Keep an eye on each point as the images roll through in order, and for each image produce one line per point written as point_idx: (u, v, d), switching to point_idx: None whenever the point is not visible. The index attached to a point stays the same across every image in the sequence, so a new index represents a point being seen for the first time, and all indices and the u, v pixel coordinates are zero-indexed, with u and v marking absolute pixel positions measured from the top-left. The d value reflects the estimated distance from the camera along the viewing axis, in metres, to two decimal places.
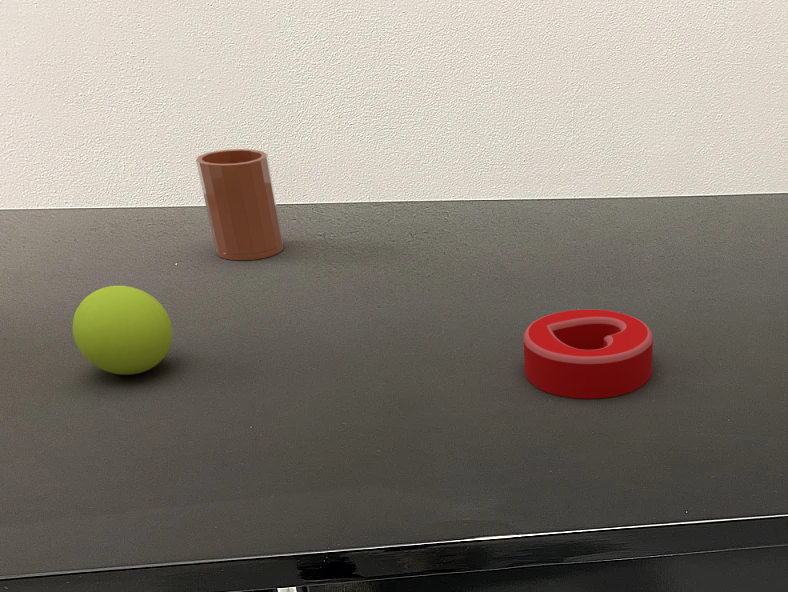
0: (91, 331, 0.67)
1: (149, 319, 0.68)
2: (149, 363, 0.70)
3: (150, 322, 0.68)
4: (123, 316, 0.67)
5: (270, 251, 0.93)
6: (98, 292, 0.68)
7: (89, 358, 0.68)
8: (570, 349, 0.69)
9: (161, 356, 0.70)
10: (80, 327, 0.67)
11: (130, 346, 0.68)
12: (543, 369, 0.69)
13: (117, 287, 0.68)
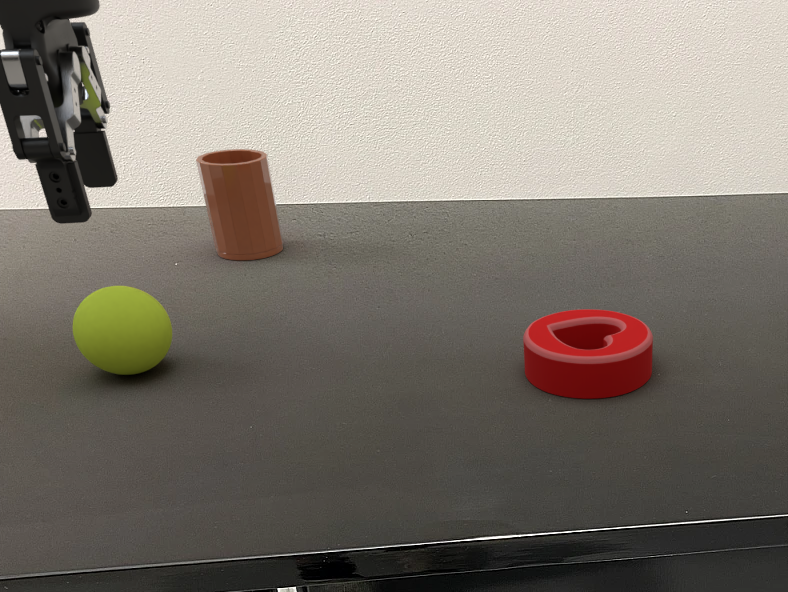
0: (91, 331, 0.67)
1: (149, 319, 0.68)
2: (149, 363, 0.70)
3: (150, 322, 0.68)
4: (123, 316, 0.67)
5: (270, 251, 0.93)
6: (98, 292, 0.68)
7: (89, 358, 0.68)
8: (570, 349, 0.69)
9: (161, 356, 0.70)
10: (80, 327, 0.67)
11: (130, 346, 0.68)
12: (543, 369, 0.69)
13: (117, 287, 0.68)
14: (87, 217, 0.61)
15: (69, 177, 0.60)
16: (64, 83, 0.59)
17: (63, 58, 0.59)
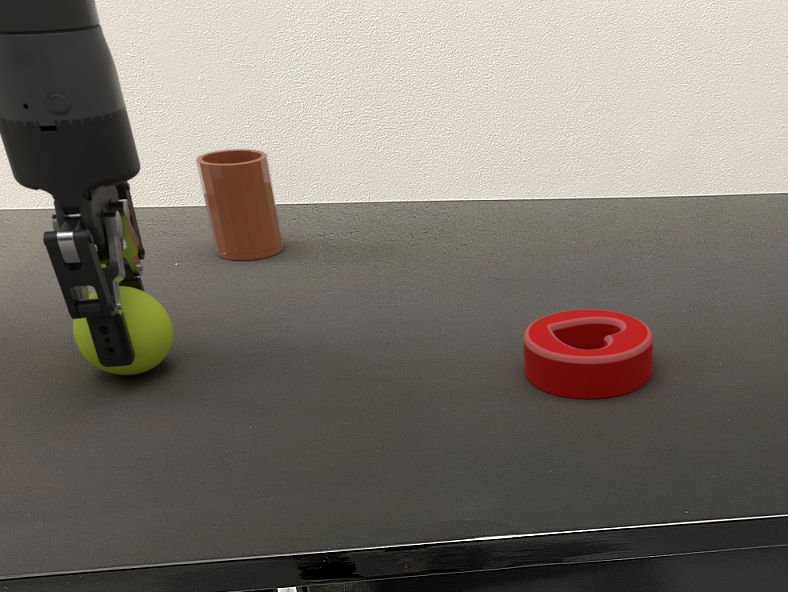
0: None
1: (149, 320, 0.68)
2: (149, 363, 0.70)
3: (150, 323, 0.68)
4: None
5: (270, 251, 0.93)
6: None
7: (89, 358, 0.68)
8: (570, 349, 0.69)
9: (161, 356, 0.70)
10: (80, 327, 0.67)
11: None
12: (543, 369, 0.69)
13: None
14: (131, 361, 0.67)
15: (116, 328, 0.66)
16: (110, 244, 0.64)
17: (107, 218, 0.64)
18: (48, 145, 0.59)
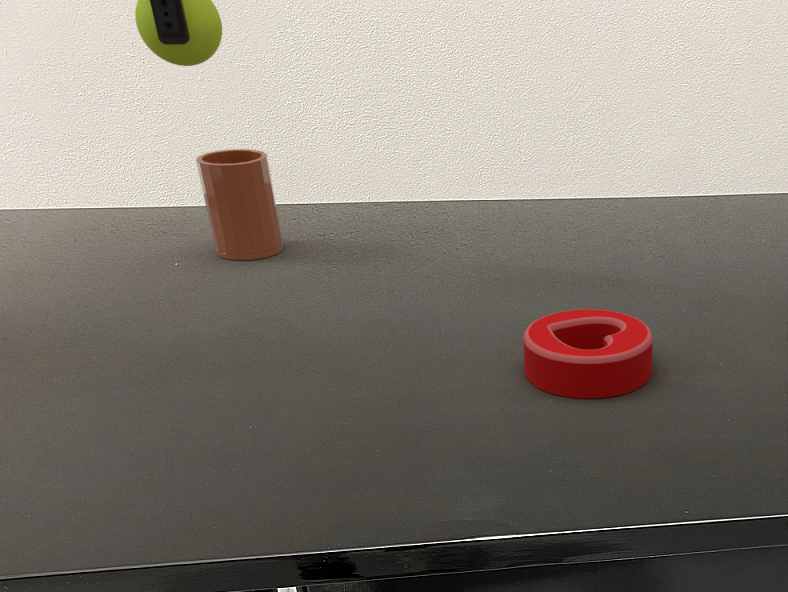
0: None
1: (203, 7, 0.77)
2: (202, 51, 0.78)
3: (203, 9, 0.77)
4: None
5: (270, 251, 0.93)
6: None
7: (150, 41, 0.77)
8: (570, 349, 0.69)
9: (212, 47, 0.79)
10: (143, 9, 0.76)
11: None
12: (543, 369, 0.69)
13: None
14: (186, 40, 0.76)
15: (174, 3, 0.74)
16: None
17: None
18: None
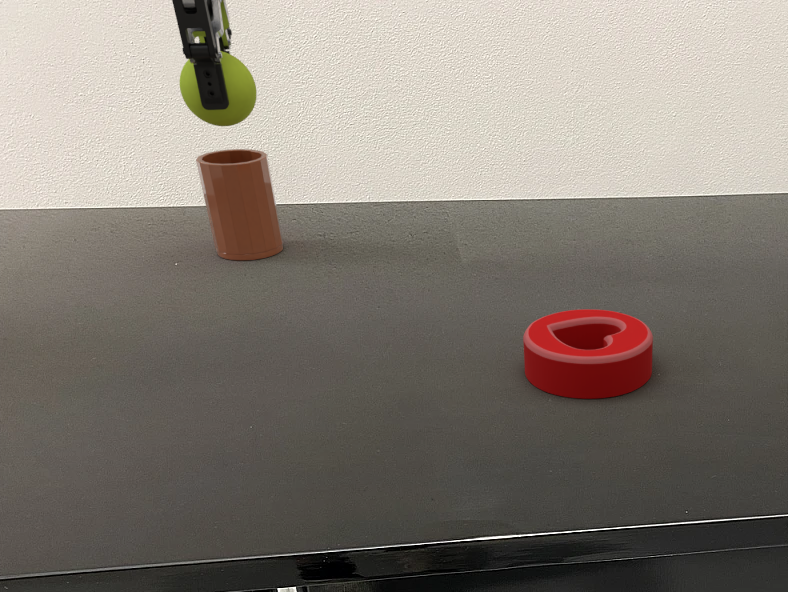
0: (196, 80, 0.84)
1: (241, 75, 0.86)
2: (239, 114, 0.87)
3: (241, 77, 0.86)
4: None
5: (270, 251, 0.93)
6: None
7: (193, 106, 0.85)
8: (570, 349, 0.69)
9: (248, 110, 0.88)
10: (187, 78, 0.84)
11: None
12: (543, 369, 0.69)
13: None
14: (226, 105, 0.85)
15: (217, 74, 0.83)
16: (213, 3, 0.82)
17: None
18: None
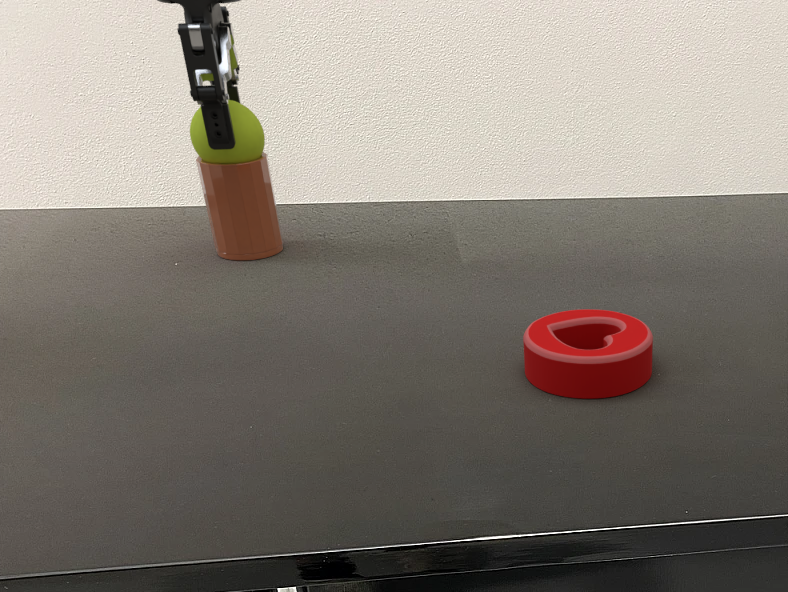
0: None
1: (249, 124, 0.88)
2: None
3: (250, 126, 0.88)
4: (231, 119, 0.87)
5: (270, 251, 0.93)
6: None
7: (203, 154, 0.88)
8: (570, 349, 0.69)
9: (257, 157, 0.90)
10: (197, 127, 0.87)
11: (236, 143, 0.87)
12: (543, 369, 0.69)
13: None
14: (233, 145, 0.86)
15: (223, 115, 0.84)
16: (222, 48, 0.83)
17: (221, 31, 0.83)
18: None
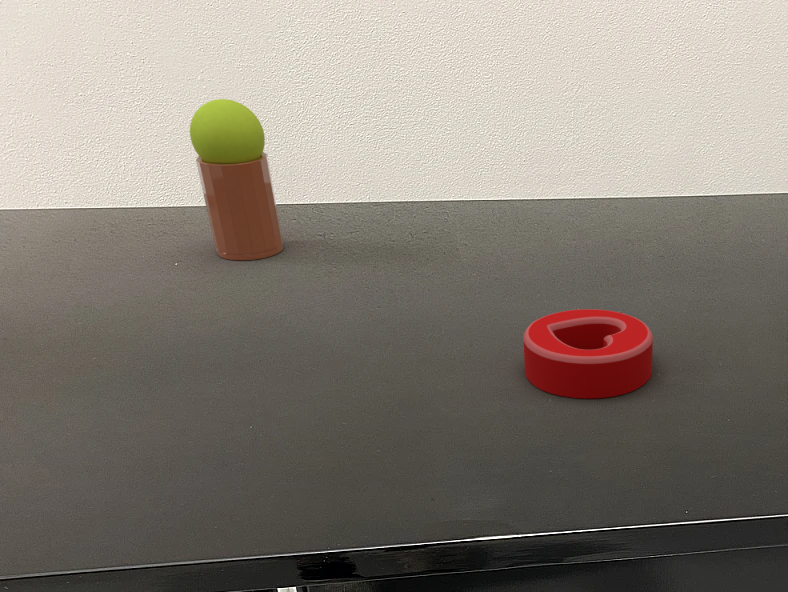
0: (206, 130, 0.86)
1: (249, 124, 0.88)
2: None
3: (250, 126, 0.88)
4: (231, 119, 0.87)
5: (270, 251, 0.93)
6: (210, 102, 0.87)
7: (203, 154, 0.88)
8: (570, 349, 0.69)
9: (257, 157, 0.90)
10: (197, 127, 0.87)
11: (236, 143, 0.87)
12: (543, 369, 0.69)
13: (224, 99, 0.88)
14: None
15: None
16: None
17: None
18: None
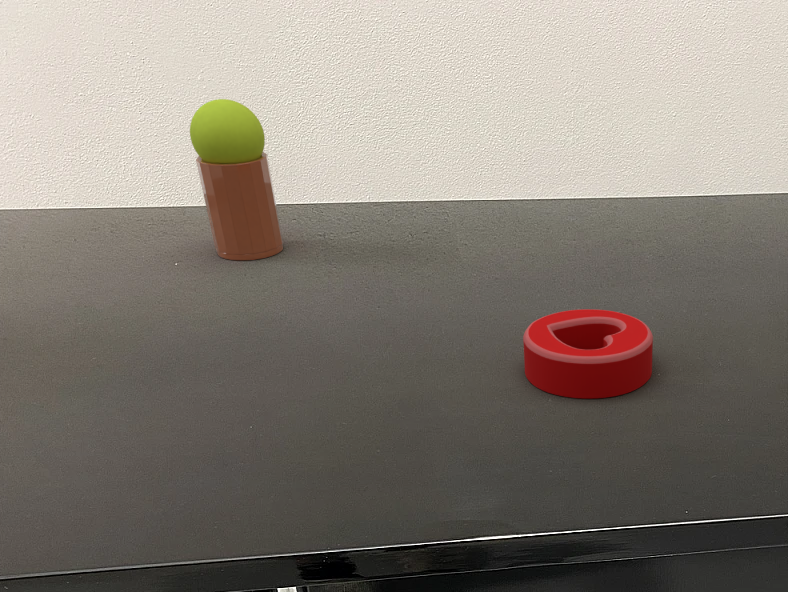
0: (206, 130, 0.86)
1: (249, 124, 0.88)
2: None
3: (250, 126, 0.88)
4: (231, 119, 0.87)
5: (270, 251, 0.93)
6: (210, 102, 0.87)
7: (203, 154, 0.88)
8: (570, 349, 0.69)
9: (257, 157, 0.90)
10: (197, 127, 0.87)
11: (236, 143, 0.87)
12: (543, 369, 0.69)
13: (224, 99, 0.88)
14: None
15: None
16: None
17: None
18: None
